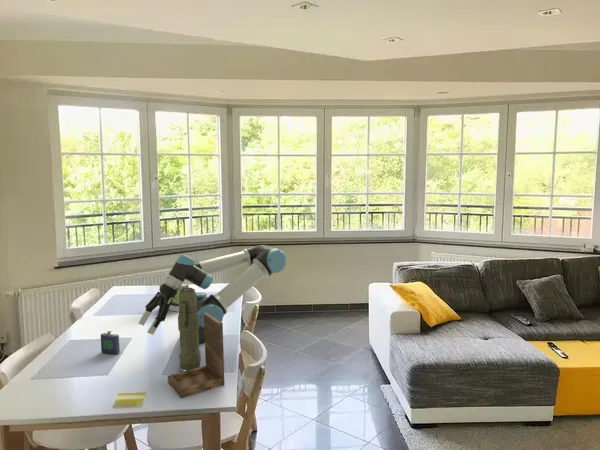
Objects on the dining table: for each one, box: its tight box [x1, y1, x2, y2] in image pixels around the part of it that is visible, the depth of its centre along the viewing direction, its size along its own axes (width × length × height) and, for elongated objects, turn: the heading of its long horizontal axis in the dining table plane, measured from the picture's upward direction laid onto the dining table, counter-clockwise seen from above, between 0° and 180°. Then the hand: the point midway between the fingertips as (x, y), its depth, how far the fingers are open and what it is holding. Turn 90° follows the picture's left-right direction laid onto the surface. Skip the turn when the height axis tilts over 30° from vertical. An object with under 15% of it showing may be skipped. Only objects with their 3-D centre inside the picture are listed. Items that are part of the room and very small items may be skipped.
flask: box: [100, 330, 121, 355], centre depth 224 cm, size 9×3×11 cm, turn 78°
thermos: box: [177, 287, 202, 371], centre depth 207 cm, size 9×12×35 cm
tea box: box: [159, 283, 190, 313], centre depth 289 cm, size 15×10×15 cm
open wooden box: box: [167, 313, 226, 399], centre depth 192 cm, size 18×15×26 cm
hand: (145, 328), depth 213 cm, fingers open, 13 cm apart
